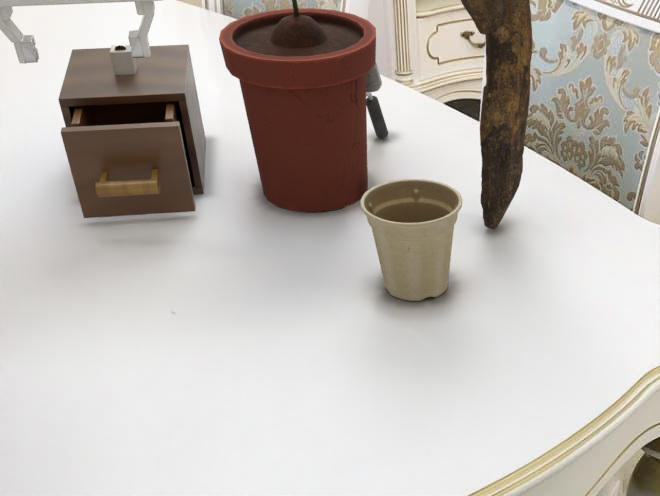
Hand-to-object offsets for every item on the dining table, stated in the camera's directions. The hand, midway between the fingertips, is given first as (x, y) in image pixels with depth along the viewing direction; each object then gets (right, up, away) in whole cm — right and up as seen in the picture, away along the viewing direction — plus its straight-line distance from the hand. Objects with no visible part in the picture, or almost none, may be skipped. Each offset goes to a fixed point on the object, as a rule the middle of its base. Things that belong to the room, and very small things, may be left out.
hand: (86, 58), depth 96 cm
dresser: (-4, +3, +30) cm, 30 cm away
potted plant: (+17, +1, +28) cm, 33 cm away
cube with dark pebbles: (-4, +10, +22) cm, 24 cm away
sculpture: (+35, -7, +21) cm, 41 cm away
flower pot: (+28, -16, +12) cm, 34 cm away
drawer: (-3, -3, +23) cm, 23 cm away
